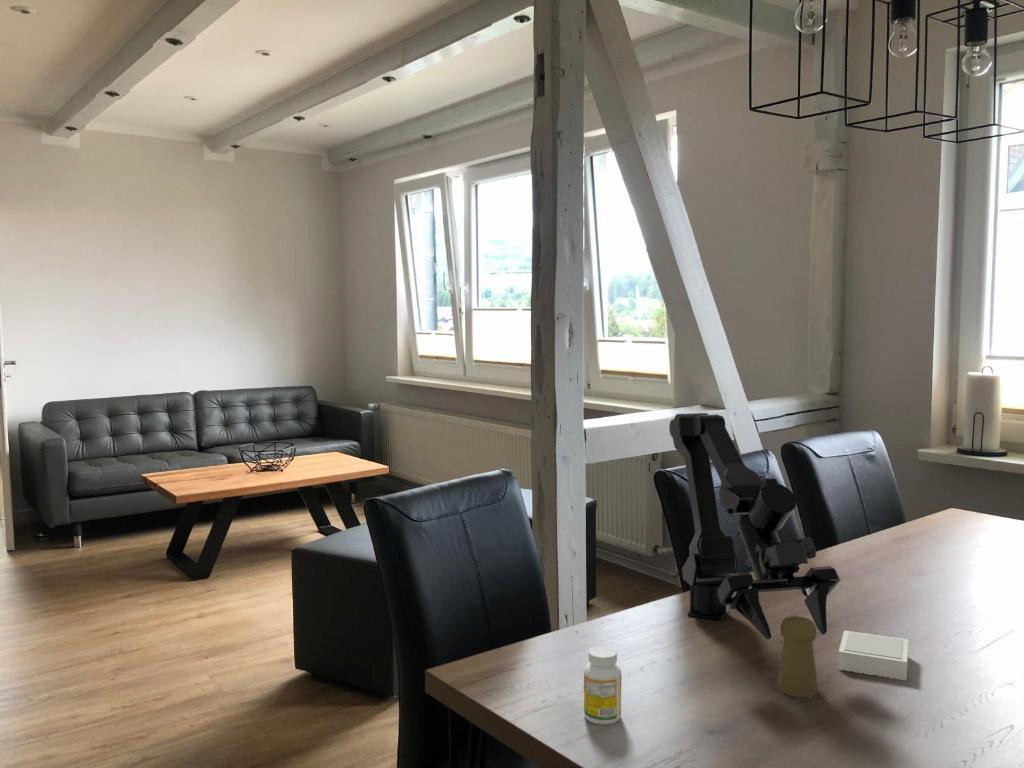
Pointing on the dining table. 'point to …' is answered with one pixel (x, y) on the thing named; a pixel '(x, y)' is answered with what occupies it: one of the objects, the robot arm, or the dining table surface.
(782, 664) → the cork
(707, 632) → the dining table surface
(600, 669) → the supplement bottle
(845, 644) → the tray
